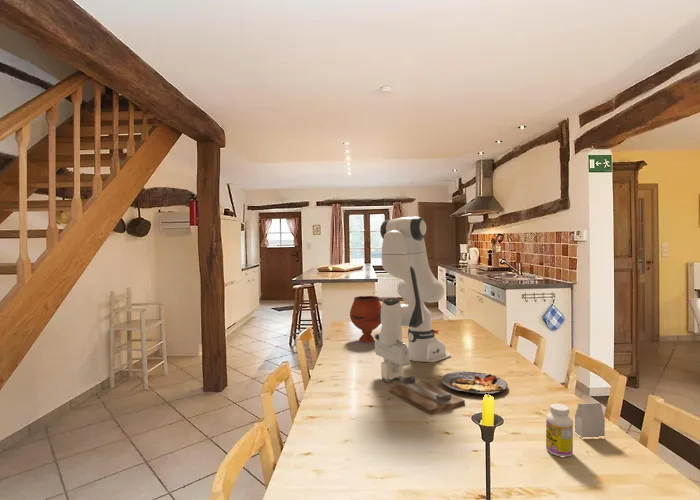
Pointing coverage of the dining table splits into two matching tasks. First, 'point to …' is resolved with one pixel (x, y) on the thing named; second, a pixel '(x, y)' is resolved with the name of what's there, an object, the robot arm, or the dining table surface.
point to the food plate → (474, 382)
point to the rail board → (425, 395)
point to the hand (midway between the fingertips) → (391, 370)
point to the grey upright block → (589, 420)
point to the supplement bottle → (559, 431)
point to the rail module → (390, 371)
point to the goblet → (366, 315)
